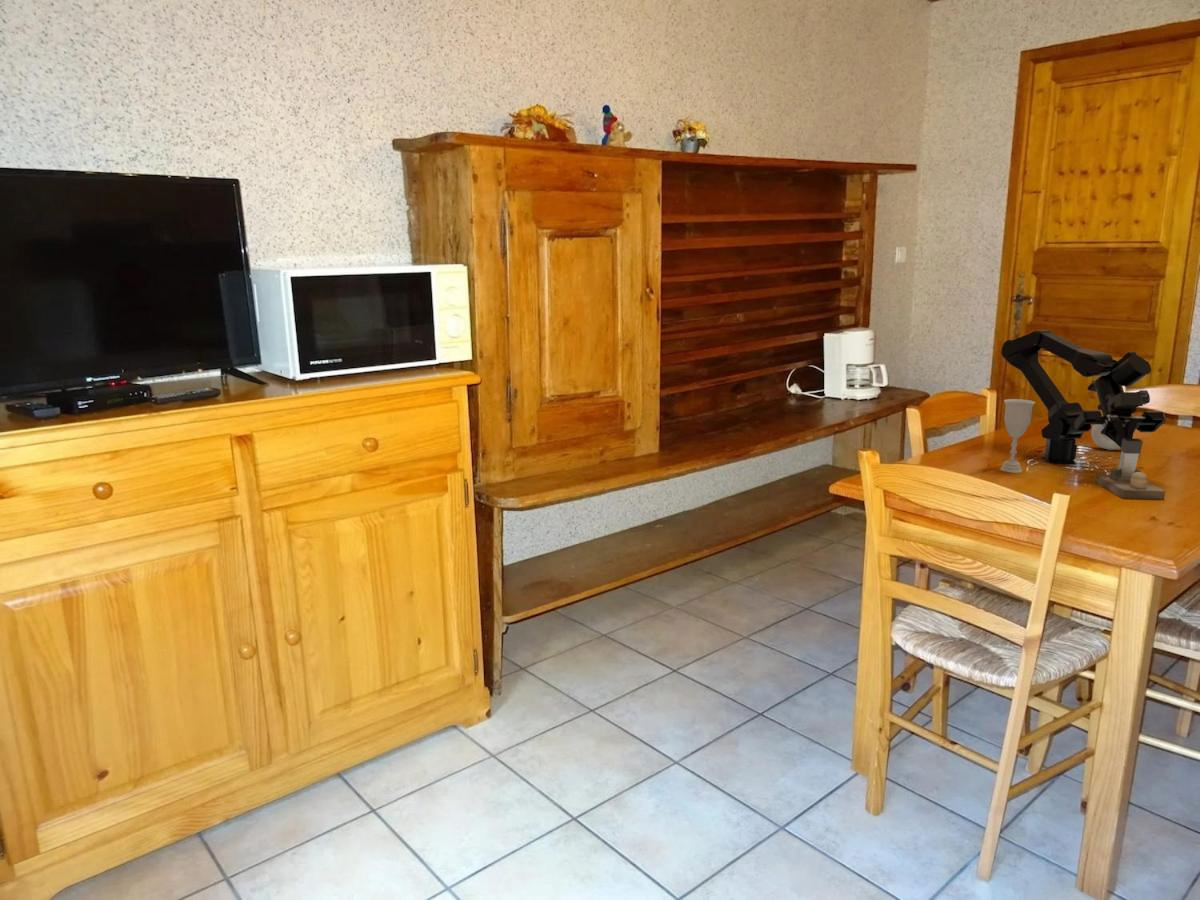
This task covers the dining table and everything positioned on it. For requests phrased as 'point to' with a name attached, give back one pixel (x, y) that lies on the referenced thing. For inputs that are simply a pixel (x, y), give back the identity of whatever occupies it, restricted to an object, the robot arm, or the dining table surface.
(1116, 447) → the donut
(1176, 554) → the dining table surface
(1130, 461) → the grey blocky upright piece
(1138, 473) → the beige egg
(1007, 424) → the chalice
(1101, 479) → the grey base plate stand
